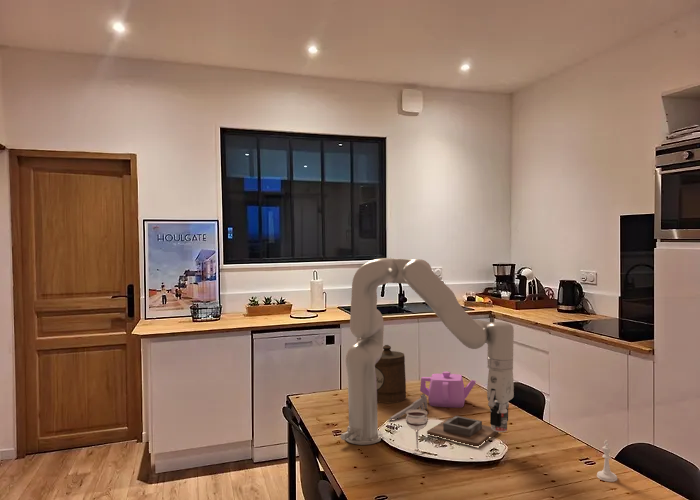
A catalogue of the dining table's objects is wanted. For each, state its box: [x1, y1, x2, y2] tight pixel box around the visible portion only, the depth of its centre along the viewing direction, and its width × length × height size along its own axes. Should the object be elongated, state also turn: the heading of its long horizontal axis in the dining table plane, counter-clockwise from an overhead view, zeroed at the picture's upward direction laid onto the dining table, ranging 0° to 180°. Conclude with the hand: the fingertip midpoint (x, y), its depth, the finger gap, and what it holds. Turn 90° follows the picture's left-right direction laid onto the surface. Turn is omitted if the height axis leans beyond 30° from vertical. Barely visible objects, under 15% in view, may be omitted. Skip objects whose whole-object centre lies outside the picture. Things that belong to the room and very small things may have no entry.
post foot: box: [426, 415, 499, 446], centre depth 168 cm, size 16×18×4 cm
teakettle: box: [419, 370, 477, 408], centre depth 202 cm, size 17×17×12 cm
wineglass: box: [405, 408, 429, 450], centre depth 155 cm, size 7×7×12 cm
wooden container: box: [375, 344, 407, 404], centre depth 210 cm, size 15×15×22 cm
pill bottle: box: [490, 400, 509, 433], centre depth 154 cm, size 5×5×8 cm
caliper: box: [388, 393, 428, 420], centre depth 189 cm, size 20×1×6 cm, turn 131°
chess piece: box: [596, 439, 618, 483], centre depth 136 cm, size 5×5×10 cm
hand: (499, 422), depth 154 cm, fingers closed on pill bottle, 4 cm apart
